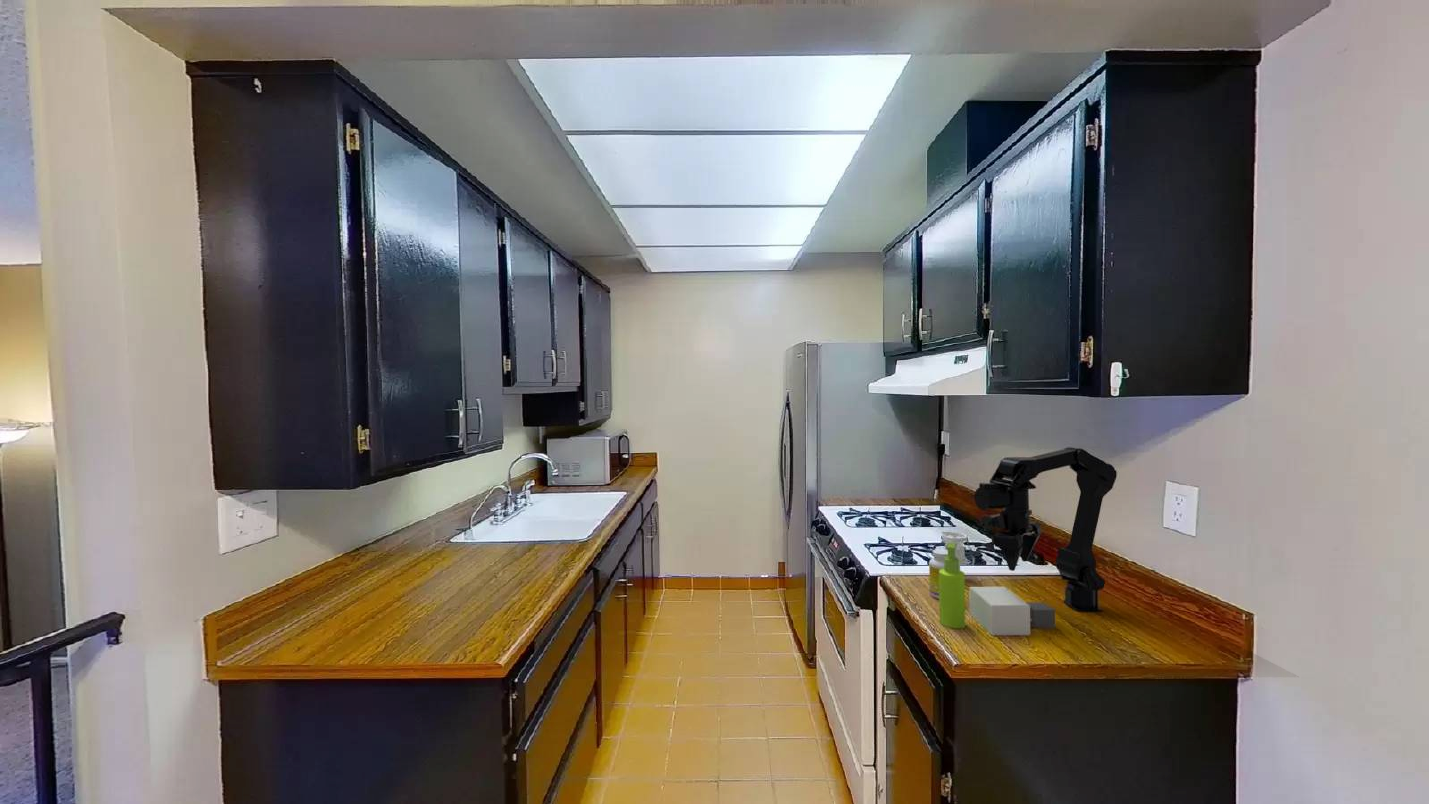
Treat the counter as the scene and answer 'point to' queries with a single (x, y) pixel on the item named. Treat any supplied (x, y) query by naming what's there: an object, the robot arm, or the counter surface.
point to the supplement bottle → (936, 571)
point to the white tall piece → (959, 547)
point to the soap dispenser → (952, 591)
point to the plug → (1041, 615)
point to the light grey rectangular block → (999, 611)
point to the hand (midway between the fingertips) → (1018, 565)
